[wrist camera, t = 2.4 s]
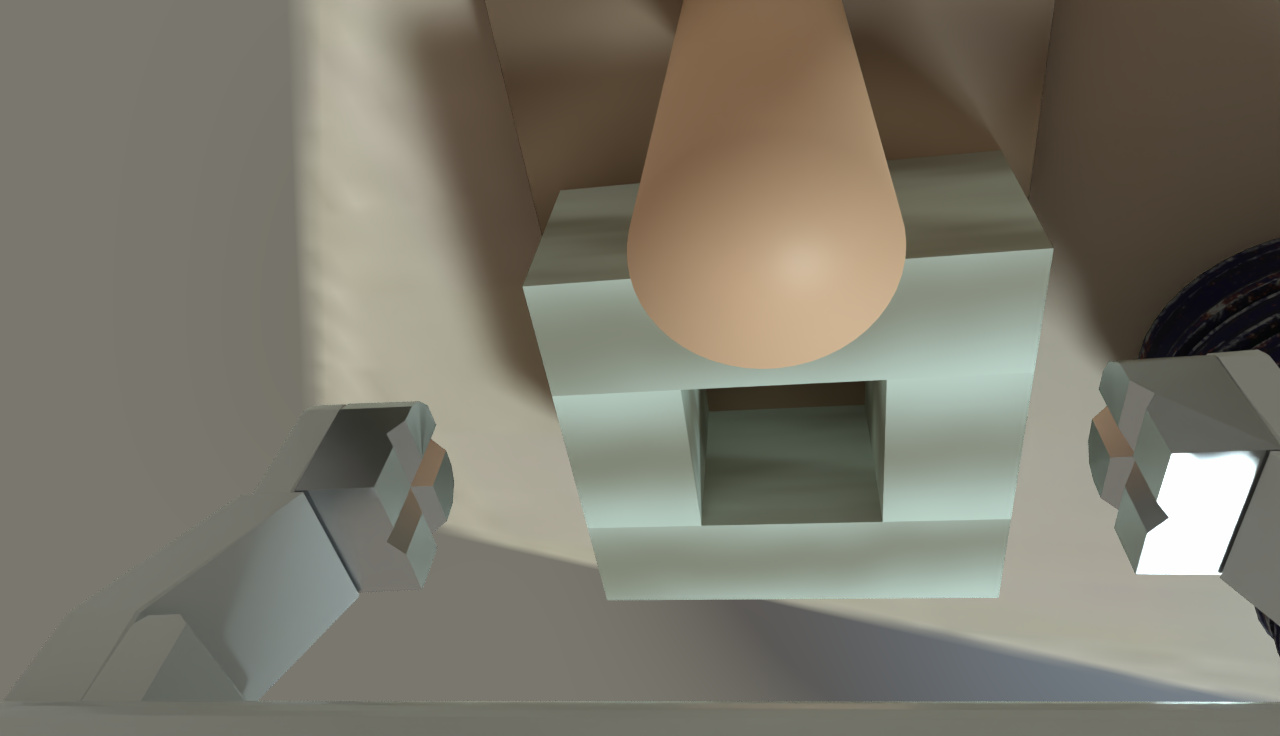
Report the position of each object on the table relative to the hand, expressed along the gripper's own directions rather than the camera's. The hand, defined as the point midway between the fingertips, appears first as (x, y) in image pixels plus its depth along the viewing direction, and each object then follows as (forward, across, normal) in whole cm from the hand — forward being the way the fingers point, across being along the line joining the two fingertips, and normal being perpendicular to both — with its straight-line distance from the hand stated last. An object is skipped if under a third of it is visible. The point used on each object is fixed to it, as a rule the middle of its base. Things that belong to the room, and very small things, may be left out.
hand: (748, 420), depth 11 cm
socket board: (+19, 0, +7) cm, 21 cm away
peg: (+18, 0, 0) cm, 18 cm away
